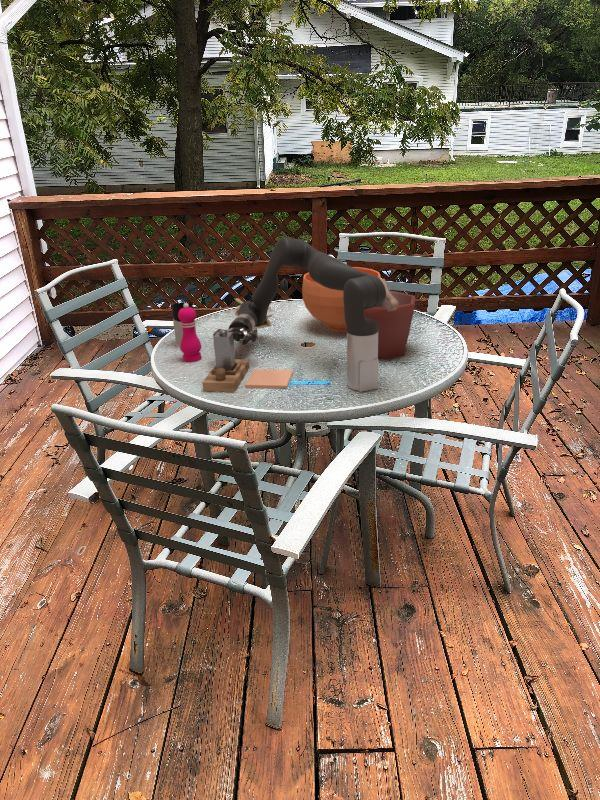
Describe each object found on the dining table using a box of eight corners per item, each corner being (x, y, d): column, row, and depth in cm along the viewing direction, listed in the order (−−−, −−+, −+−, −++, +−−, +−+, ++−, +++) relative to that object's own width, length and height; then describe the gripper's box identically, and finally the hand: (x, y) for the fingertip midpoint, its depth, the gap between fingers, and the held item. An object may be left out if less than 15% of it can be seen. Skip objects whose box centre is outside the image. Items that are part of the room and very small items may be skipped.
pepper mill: (191, 354, 224) (184, 299, 216) (206, 357, 221) (200, 301, 212) (177, 360, 218) (170, 304, 210) (193, 363, 215) (187, 307, 207)
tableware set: (226, 312, 274) (225, 298, 271) (271, 308, 277) (270, 295, 274) (231, 332, 247) (230, 318, 245) (281, 328, 250) (280, 313, 247)
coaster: (254, 372, 206) (254, 369, 205) (293, 372, 204) (293, 369, 203) (245, 387, 194) (245, 384, 194) (286, 388, 192) (286, 385, 192)
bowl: (360, 312, 263) (360, 263, 254) (395, 332, 237) (396, 278, 228) (292, 322, 253) (290, 272, 245) (321, 344, 227) (320, 289, 219)
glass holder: (194, 338, 240) (189, 300, 234) (207, 349, 228) (202, 309, 222) (171, 343, 236) (166, 304, 230) (184, 354, 225) (179, 313, 218)
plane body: (220, 367, 211) (218, 350, 208) (249, 368, 209) (248, 351, 207) (203, 391, 193) (201, 373, 190) (235, 392, 191) (233, 373, 189)
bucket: (411, 365, 205) (413, 290, 195) (343, 363, 210) (342, 289, 200) (414, 341, 227) (416, 272, 217) (353, 339, 232) (352, 271, 221)
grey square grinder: (220, 367, 202) (217, 328, 197) (236, 367, 202) (232, 328, 196) (216, 373, 198) (212, 333, 192) (232, 373, 197) (228, 333, 192)
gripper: (221, 316, 218) (208, 331, 203) (261, 316, 215) (251, 331, 201) (223, 337, 221) (210, 353, 206) (263, 337, 218) (252, 353, 204)
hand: (230, 342), depth 203 cm, fingers open, 8 cm apart
